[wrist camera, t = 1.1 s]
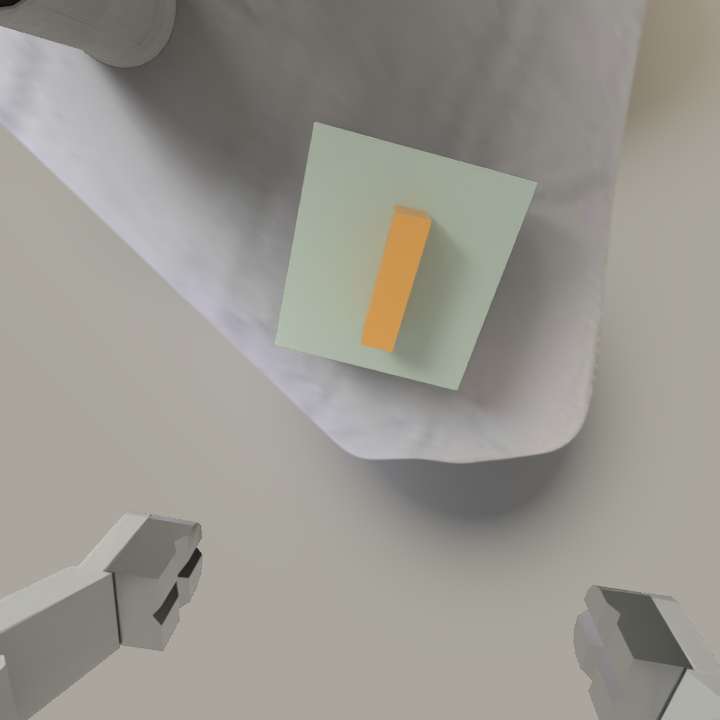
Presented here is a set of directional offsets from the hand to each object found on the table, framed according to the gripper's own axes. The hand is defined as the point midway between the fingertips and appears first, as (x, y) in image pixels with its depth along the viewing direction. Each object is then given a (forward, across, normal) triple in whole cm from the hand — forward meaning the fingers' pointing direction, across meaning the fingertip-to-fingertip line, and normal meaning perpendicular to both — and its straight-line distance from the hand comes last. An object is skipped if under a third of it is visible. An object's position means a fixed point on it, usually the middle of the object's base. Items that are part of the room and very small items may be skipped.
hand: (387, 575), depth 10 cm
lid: (+25, +1, -3) cm, 25 cm away
